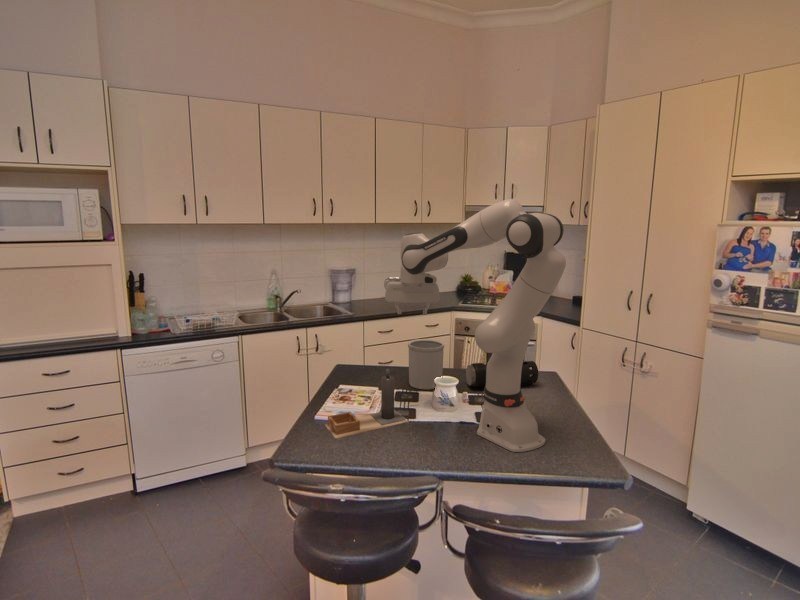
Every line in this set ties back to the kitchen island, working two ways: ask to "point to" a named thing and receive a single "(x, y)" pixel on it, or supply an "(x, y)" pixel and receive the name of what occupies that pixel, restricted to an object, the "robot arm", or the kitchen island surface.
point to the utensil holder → (425, 362)
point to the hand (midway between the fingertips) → (412, 314)
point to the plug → (387, 396)
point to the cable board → (360, 423)
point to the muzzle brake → (478, 374)
